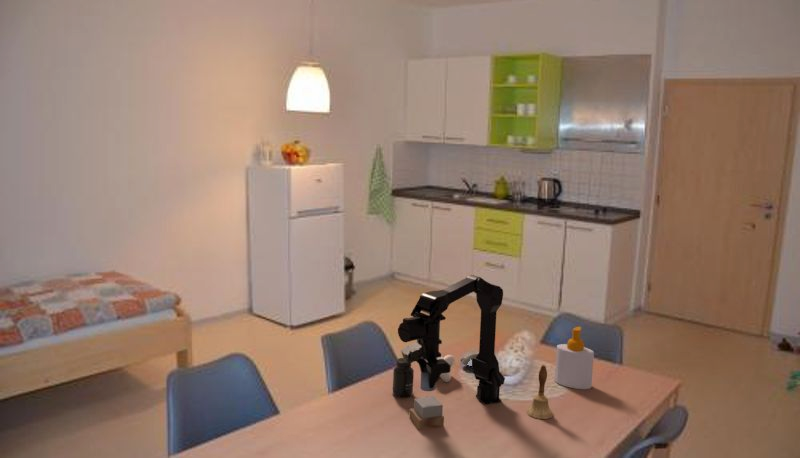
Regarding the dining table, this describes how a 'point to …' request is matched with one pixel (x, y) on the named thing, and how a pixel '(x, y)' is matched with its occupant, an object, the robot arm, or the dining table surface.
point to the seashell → (468, 359)
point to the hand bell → (540, 399)
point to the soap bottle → (574, 363)
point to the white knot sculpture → (450, 361)
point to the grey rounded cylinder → (425, 382)
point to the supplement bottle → (403, 379)
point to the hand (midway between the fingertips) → (428, 384)
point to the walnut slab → (426, 421)
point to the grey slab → (428, 407)
